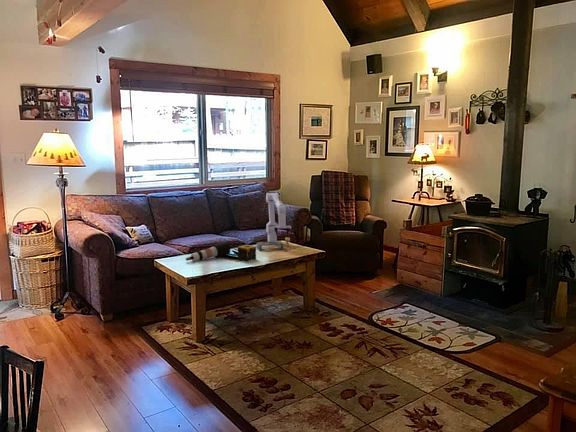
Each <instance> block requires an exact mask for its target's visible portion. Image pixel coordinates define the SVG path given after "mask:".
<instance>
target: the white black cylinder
mask: <svg viewBox="0 0 576 432" xmlns="http://www.w3.org/2000/svg"><path fill="white" fill-rule="evenodd" d="M230 253H231V248H230V245H229V243H228V242H227V241H222V242H220V243H215V244H212V245H211V247H209V248H205V249H202V250H198V251H196V252H193V253H191V254H190V256H189V257H186V258H185V261H191V260H192V262H197V261H198V262H199V261H202V260H206V259H211V258H216V259H217V258H222V257H224V256H228V255H230Z"/></svg>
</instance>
